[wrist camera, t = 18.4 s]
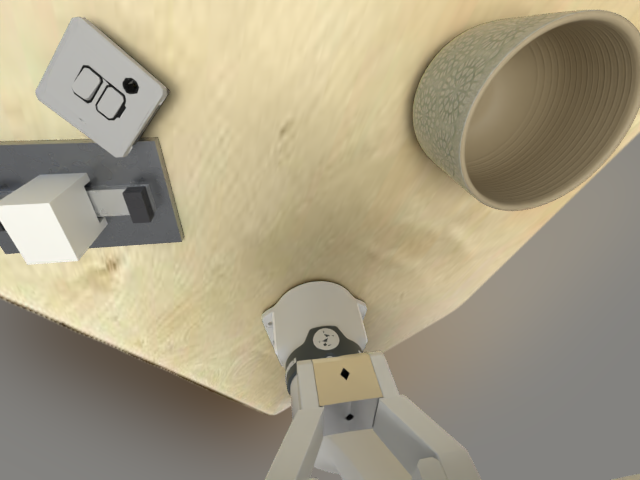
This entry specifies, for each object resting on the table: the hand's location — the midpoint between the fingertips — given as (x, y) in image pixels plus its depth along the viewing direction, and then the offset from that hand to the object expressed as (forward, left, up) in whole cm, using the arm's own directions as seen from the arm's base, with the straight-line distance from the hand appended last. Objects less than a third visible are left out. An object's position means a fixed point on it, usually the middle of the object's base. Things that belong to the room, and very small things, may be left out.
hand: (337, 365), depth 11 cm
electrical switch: (+7, +15, -34) cm, 38 cm away
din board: (-8, +26, -34) cm, 44 cm away
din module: (-8, +26, -33) cm, 42 cm away
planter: (+3, -23, -34) cm, 41 cm away
